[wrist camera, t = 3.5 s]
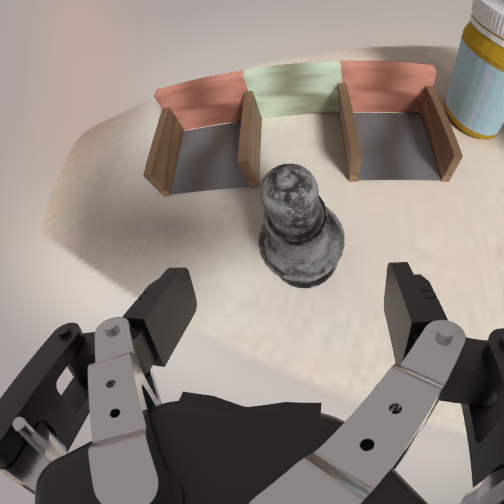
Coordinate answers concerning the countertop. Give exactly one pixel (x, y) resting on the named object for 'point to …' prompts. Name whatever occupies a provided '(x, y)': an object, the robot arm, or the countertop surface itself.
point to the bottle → (479, 73)
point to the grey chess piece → (298, 228)
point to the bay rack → (302, 102)
